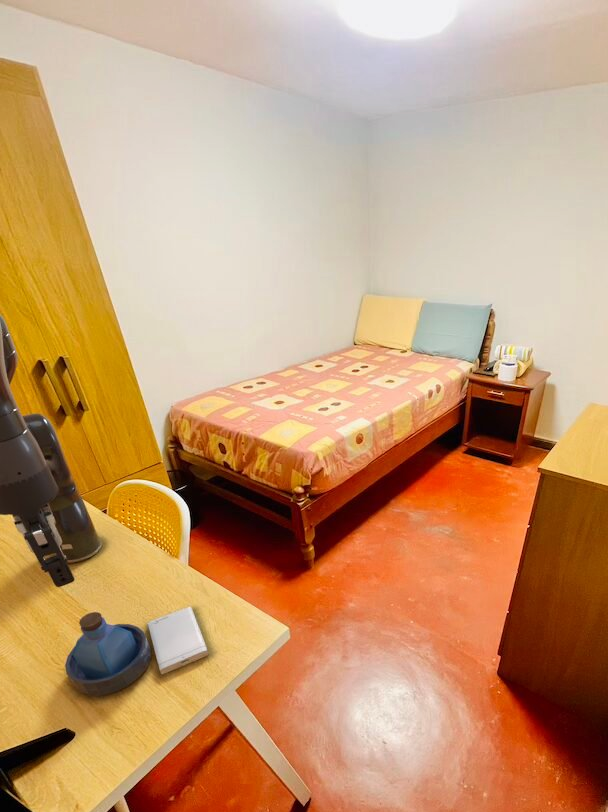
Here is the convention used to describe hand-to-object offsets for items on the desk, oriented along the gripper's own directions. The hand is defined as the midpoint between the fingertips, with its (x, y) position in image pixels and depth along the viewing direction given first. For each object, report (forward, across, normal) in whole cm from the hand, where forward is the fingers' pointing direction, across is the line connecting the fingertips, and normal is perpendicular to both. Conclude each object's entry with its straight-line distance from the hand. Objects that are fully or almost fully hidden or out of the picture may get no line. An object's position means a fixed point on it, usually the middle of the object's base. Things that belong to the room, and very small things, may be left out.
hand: (59, 566), depth 60 cm
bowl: (+25, +1, 0) cm, 25 cm away
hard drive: (+25, 0, -11) cm, 27 cm away
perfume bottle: (+25, +1, 0) cm, 25 cm away
